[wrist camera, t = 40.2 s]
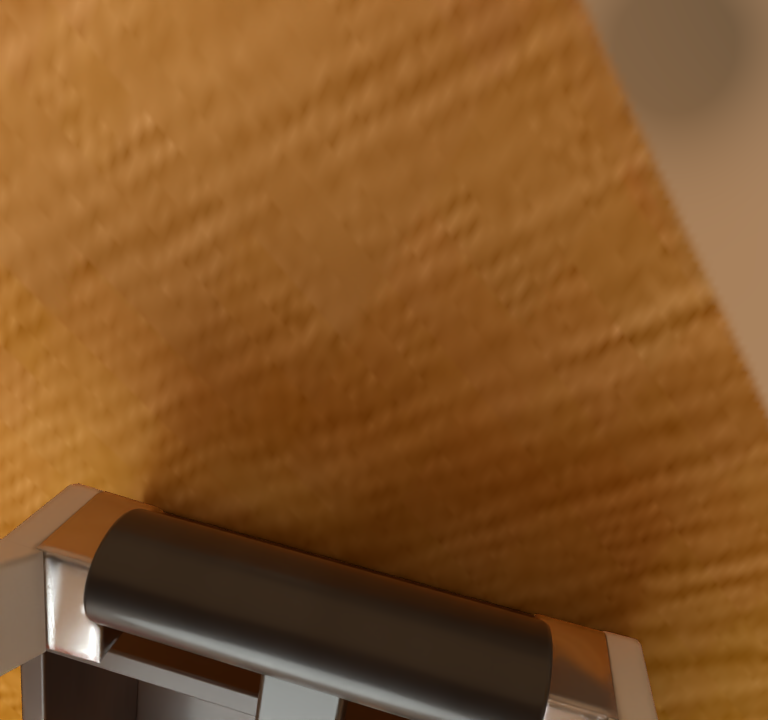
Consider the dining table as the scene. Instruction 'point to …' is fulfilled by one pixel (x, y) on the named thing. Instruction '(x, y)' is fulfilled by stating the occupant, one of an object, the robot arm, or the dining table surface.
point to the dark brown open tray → (281, 638)
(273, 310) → the dining table surface
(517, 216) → the dining table surface
